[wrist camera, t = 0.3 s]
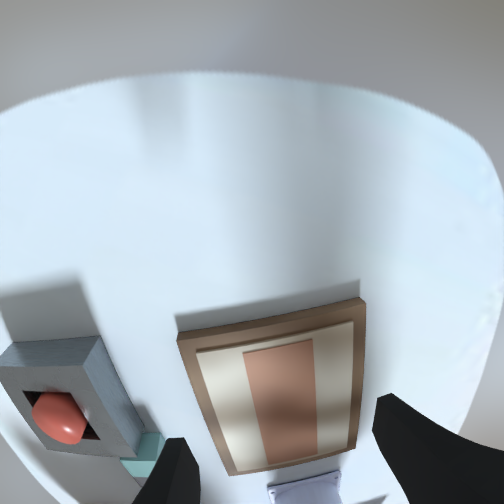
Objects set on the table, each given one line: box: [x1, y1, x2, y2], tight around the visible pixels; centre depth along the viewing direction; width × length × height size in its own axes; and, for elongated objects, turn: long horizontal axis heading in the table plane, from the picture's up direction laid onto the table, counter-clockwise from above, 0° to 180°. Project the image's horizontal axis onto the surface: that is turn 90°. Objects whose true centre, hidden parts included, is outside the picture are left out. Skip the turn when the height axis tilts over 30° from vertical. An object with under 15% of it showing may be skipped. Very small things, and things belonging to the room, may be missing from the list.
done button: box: [32, 392, 88, 444], centre depth 16 cm, size 4×4×2 cm
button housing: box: [0, 336, 144, 457], centre depth 17 cm, size 9×9×4 cm
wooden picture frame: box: [176, 297, 366, 476], centre depth 20 cm, size 16×12×1 cm
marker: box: [120, 433, 166, 487], centre depth 21 cm, size 12×3×3 cm, turn 9°
